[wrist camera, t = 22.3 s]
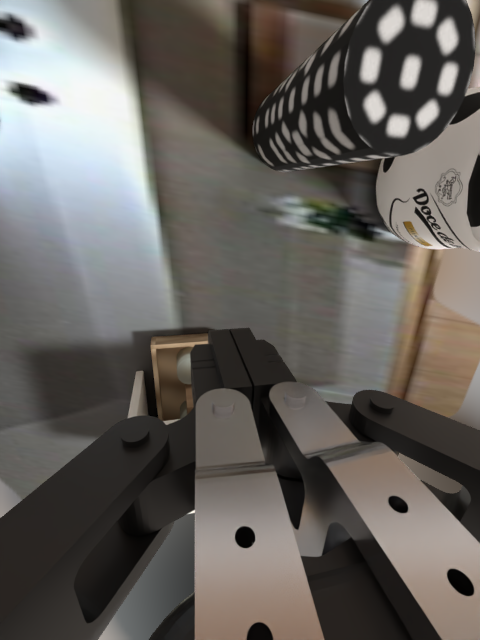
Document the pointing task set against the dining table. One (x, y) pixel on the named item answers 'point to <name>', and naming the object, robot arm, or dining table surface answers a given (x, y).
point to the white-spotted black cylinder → (371, 87)
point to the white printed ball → (437, 186)
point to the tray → (174, 373)
